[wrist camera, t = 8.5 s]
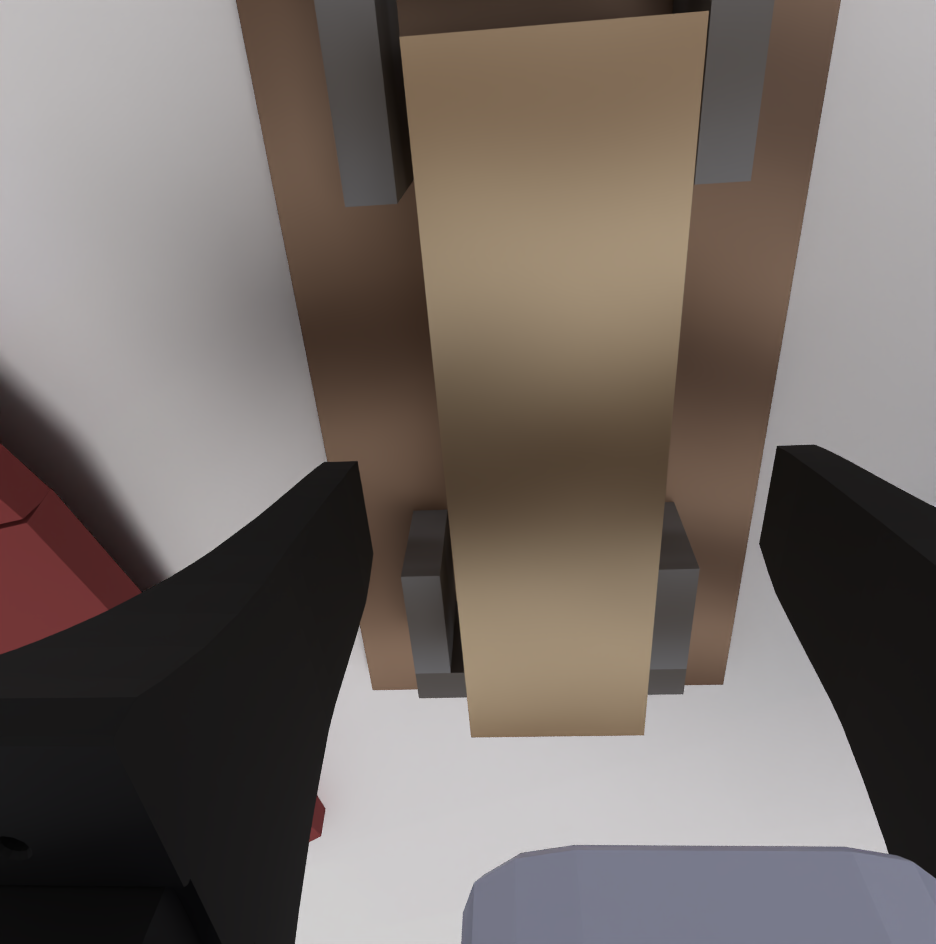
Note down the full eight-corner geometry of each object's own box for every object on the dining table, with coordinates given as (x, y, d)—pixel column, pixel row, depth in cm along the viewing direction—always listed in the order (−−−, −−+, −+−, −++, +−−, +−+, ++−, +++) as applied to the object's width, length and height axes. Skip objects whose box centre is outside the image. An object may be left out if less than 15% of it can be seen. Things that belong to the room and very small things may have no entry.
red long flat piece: (348, 742, 34) (-8, 261, 18) (333, 850, 30) (-133, 356, 14) (127, 776, 36) (-360, 368, 20) (86, 881, 32) (-551, 477, 16)
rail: (609, 570, 21) (643, 735, 16) (478, 573, 21) (470, 737, 16) (632, 26, 14) (709, 10, 9) (435, 42, 14) (399, 36, 9)
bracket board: (715, 662, 24) (750, 761, 21) (377, 668, 25) (357, 765, 22) (873, -326, 12) (1020, -477, 9) (202, -252, 13) (95, -360, 10)
